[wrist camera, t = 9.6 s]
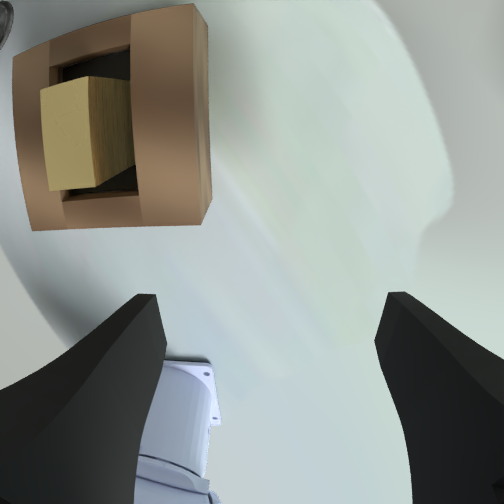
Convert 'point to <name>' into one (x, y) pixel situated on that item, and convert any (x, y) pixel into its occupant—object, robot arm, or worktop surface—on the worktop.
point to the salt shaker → (5, 21)
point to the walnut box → (143, 121)
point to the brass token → (86, 131)
